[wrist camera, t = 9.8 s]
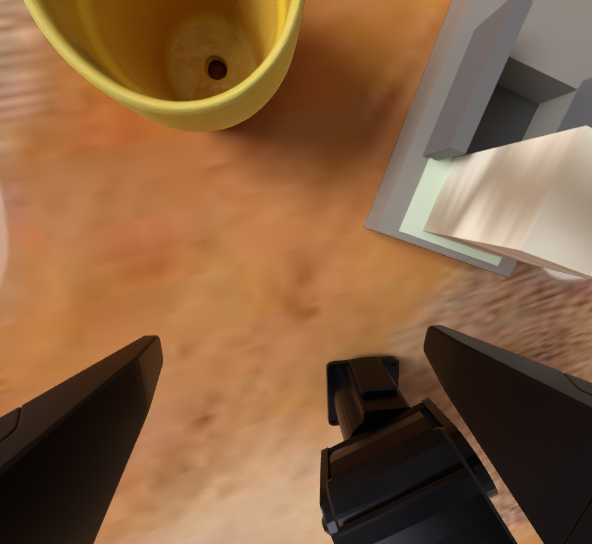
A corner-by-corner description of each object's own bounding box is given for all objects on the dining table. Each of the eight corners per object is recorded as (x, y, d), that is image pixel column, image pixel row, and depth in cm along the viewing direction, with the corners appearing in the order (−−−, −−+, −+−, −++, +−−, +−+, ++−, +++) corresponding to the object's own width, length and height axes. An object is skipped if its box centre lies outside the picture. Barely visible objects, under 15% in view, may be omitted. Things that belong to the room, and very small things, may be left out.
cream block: (484, 252, 20) (614, 285, 12) (422, 230, 19) (520, 250, 11) (518, 183, 19) (686, 171, 11) (454, 157, 18) (586, 125, 10)
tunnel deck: (481, 268, 24) (547, 290, 18) (363, 227, 22) (394, 236, 16) (609, 11, 19) (750, -70, 14) (475, -62, 18) (570, -187, 12)
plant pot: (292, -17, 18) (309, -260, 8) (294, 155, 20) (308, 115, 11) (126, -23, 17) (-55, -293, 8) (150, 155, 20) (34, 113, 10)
